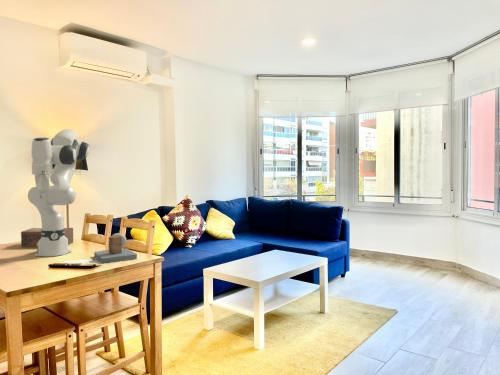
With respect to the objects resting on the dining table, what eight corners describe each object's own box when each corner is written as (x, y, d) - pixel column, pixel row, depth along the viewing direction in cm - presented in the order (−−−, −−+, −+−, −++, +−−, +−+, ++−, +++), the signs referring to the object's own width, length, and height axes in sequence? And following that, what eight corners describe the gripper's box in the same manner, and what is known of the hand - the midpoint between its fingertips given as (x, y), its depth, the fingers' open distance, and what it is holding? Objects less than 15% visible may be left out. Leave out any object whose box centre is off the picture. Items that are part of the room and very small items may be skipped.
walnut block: (108, 253, 212) (108, 236, 212) (117, 251, 216) (117, 235, 216) (113, 254, 209) (113, 238, 208) (121, 253, 213) (121, 236, 212)
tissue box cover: (73, 242, 254) (73, 227, 253) (64, 247, 240) (64, 231, 239) (32, 243, 252) (32, 228, 251) (21, 247, 237) (20, 231, 237)
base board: (94, 256, 215) (94, 252, 215) (126, 252, 225) (126, 248, 225) (102, 263, 200) (102, 258, 200) (136, 258, 210) (136, 254, 210)
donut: (109, 250, 230) (108, 234, 229) (109, 249, 233) (109, 233, 233) (126, 249, 233) (126, 233, 232) (126, 248, 236) (126, 232, 236)
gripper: (52, 171, 181) (53, 200, 182) (46, 170, 198) (47, 197, 198) (37, 171, 177) (38, 201, 178) (32, 170, 194) (33, 198, 195)
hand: (43, 199), depth 188 cm, fingers open, 8 cm apart
